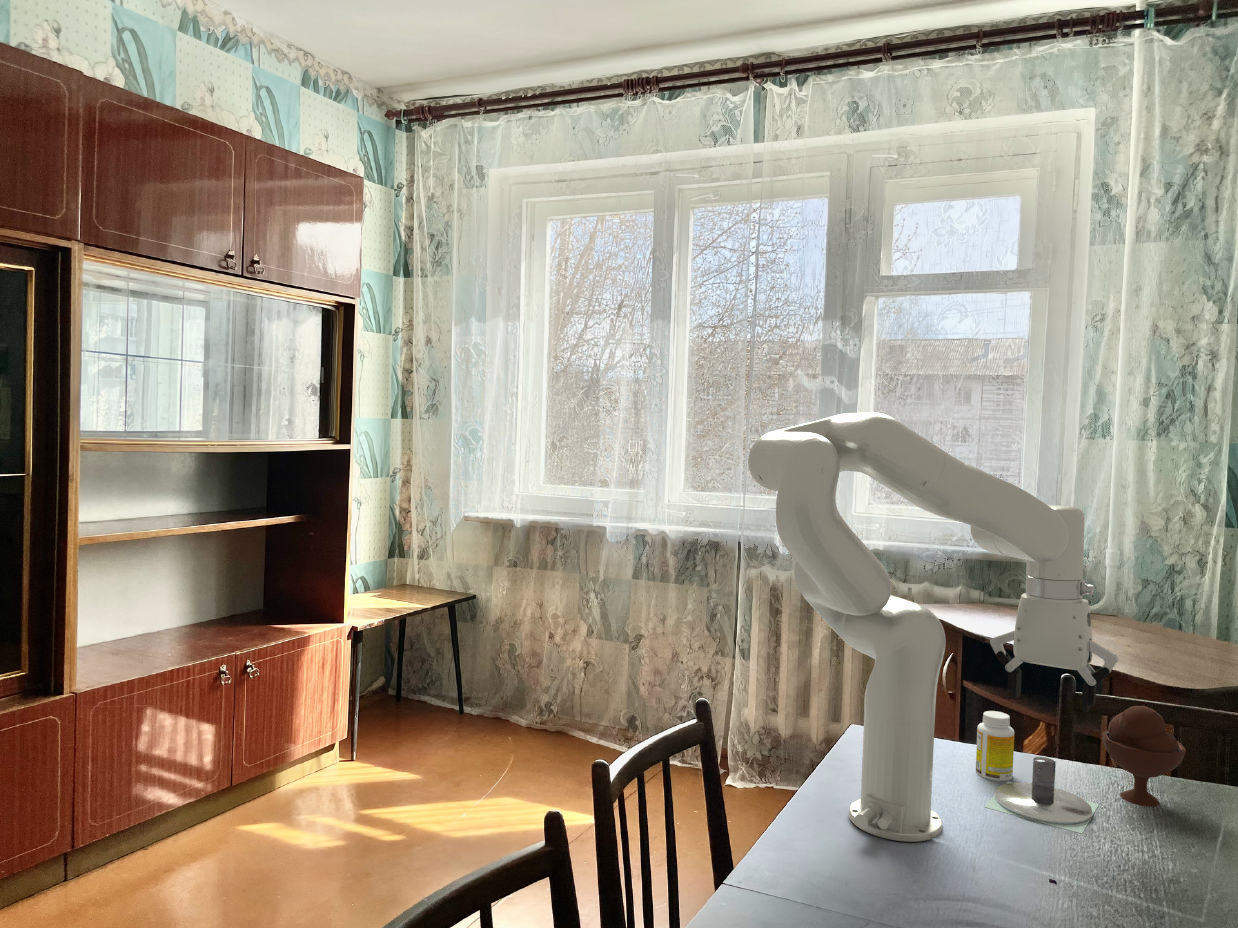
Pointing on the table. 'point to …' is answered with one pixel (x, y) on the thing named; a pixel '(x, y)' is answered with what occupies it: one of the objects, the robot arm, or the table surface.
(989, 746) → the supplement bottle
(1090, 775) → the table surface
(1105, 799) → the table surface
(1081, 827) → the mat
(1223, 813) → the table surface
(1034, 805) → the lid
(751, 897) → the table surface
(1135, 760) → the ice cream bowl
